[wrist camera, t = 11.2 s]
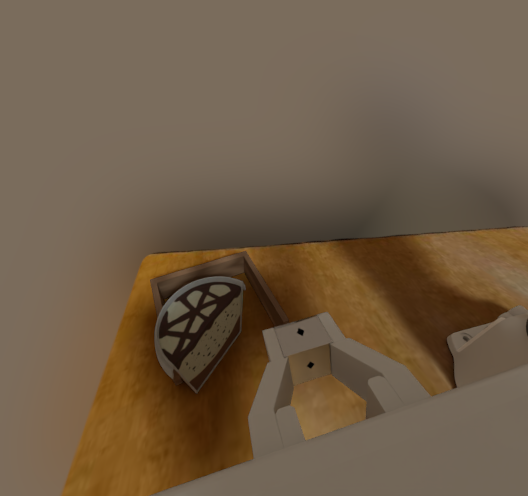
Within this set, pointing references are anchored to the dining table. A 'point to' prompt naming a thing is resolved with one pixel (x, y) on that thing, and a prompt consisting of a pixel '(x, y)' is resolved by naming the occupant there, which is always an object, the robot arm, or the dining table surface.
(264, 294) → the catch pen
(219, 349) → the food container
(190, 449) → the dining table surface
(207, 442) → the dining table surface
